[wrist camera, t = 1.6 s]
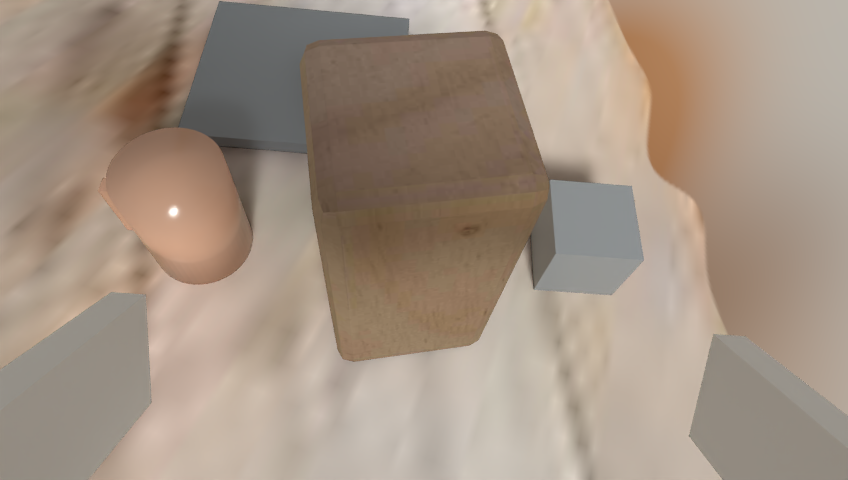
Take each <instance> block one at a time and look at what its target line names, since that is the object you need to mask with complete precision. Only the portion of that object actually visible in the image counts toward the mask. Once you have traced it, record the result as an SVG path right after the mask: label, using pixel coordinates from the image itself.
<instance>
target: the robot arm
mask: <svg viewBox="0 0 848 480" xmlns="http://www.w3.org/2000/svg"><path fill="white" fill-rule="evenodd" d="M151 402H152V401H151V383H150V365H149V346H148V328H147V309H146V295H144V294H129V293H115V292H111V293H109V294H108V295H107V296H105V297H104V298H102V299H101V300H99V301H98V302H96V303H95V304H94V305H92V306H91V307H89V308H88V309H86V310H85V311H84V312H82V313H81V314H79V315H78V316H76V317H75V318H74V319H72V320H71V321H69V322H68V323H66V324H65V325H64V326H62V327H61V328H59V329H58V330H56V331H55V332H53V333H52V334H51V335H49V336H48V337H46V338H45V339H43V340H42V341H41V342H39V343H38V344H36V345H35V346H33V347H32V348H31V349H29V350H28V351H26V352H25V353H23V354H22V355H21V356H19V357H18V358H16V359H15V360H13V361H12V362H10V363H9V364H8V365H6V366H5V367H3V368H2V369H0V480H88V479H89V478H90V477H91V476H92V475H93V473H94V472H95V471H96V470H97V468H98V467H99V466H100V465H101V464H102V462H103V461H104V460H105V459H106V457H107V456H108V455H109V454H110V453H111V451H112V450H113V449H114V448H115V446H116V445H117V444H118V443H119V442H120V440H121V439H122V438H123V437H124V435H125V434H126V433H127V432H128V430H129V429H130V428H131V427H132V426H133V424H134V423H135V422H136V421H137V419H138V418H139V417H140V416H141V415H142V413H143V412H144V411H145V410H146V408H147V407H148V406H149V405H150V404H151ZM689 437H690V438H691V439H692V441H693V442H694V443H695V444H696V446H697V447H698V448H699V450H700V451H701V452H702V453H703V455H704V456H705V457H706V459H707V460H708V461H709V463H710V464H711V465H712V466H713V468H714V469H715V470H716V472H717V473H718V474H719V475H720V477H721V478H722V479H723V480H848V416H847V415H846V414H845V413H843V412H842V411H841V410H840V409H838V408H837V407H836V406H834V405H833V404H832V403H831V402H829V401H828V400H827V399H825V398H824V397H823V396H821V395H820V394H819V393H818V392H816V391H815V390H814V389H812V388H811V387H810V386H809V385H807V384H806V383H805V382H804V381H802V380H801V379H800V378H798V377H797V376H796V375H794V374H793V373H792V372H791V371H789V370H788V369H787V368H785V367H784V366H783V365H782V364H780V363H779V362H777V361H776V360H775V359H774V358H773V357H771V356H770V355H768V354H767V353H766V352H765V351H763V350H762V349H761V348H760V347H758V346H757V345H756V344H754V343H753V342H752V341H750V340H749V339H748V338H747V337H745V336H731V335H718V334H713V338H712V342H711V346H710V351H709V355H708V359H707V363H706V367H705V371H704V376H703V380H702V384H701V388H700V392H699V396H698V401H697V405H696V409H695V413H694V417H693V421H692V426H691V430H690V434H689Z"/></svg>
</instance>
